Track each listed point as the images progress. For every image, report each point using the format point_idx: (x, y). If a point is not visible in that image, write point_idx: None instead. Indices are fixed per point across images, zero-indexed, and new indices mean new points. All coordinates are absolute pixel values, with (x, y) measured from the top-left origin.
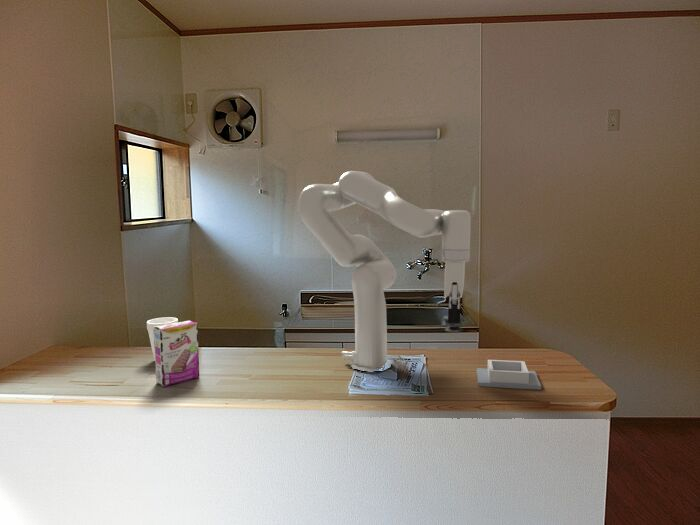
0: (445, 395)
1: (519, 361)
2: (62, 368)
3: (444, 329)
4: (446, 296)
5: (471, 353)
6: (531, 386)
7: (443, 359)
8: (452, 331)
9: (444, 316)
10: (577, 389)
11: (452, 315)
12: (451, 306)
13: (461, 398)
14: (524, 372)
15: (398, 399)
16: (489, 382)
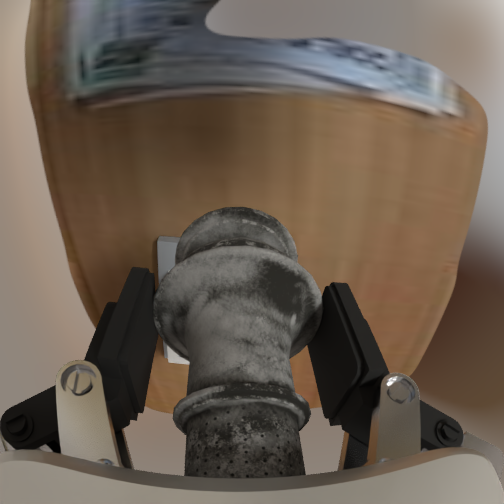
0: (75, 145)
1: None
2: None
3: (233, 208)
4: (186, 478)
5: (437, 251)
6: (163, 342)
7: (409, 164)
8: (180, 253)
9: (263, 257)
10: (182, 392)
11: (98, 333)
12: (42, 392)
13: (65, 187)
14: (169, 356)
15: (41, 28)
16: (163, 269)
